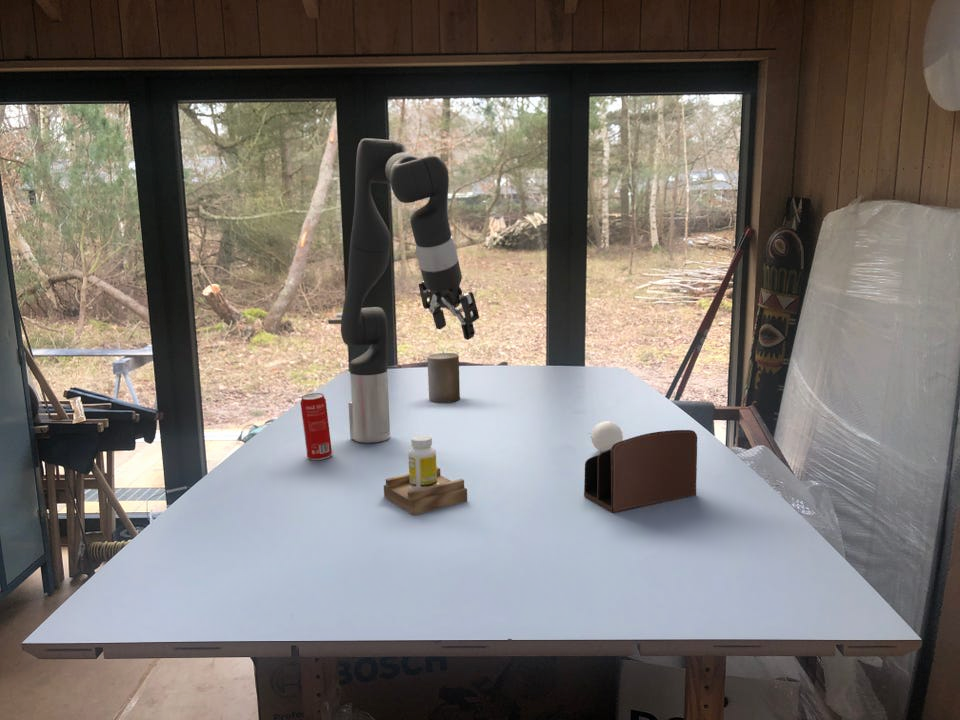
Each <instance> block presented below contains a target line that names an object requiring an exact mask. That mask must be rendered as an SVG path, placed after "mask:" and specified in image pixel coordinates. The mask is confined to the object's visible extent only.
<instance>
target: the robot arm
mask: <svg viewBox="0 0 960 720" xmlns="http://www.w3.org/2000/svg"><path fill="white" fill-rule="evenodd" d="M356 151H357V152H356V160H355V183H354V185H355V190H354V191H355V192H354V207H353V208H354V210H353V218H352V225H351V235H350V245H349V256H348V269H347V270H348V271H347V272H348V274H347V284H346V291H345V295H344V302H343V307H342V312H341V319H340V335H341V339H342V341H343V343H344V344H345V345H346V346H349V347H358V346H359V347H360V346H368V349H366V351H365V352H364V353H363V354H361V355H359V356H358V357H356V358H354V359H352V360H351V361H350V362H349V377H350V379H349V380H350V393H351V401H349V402H348V419H349V435H350V436H349V439H350V440H354V441H355V442H357V443H368V444H369V443H379V442H384V441H386V440H387V441H388V440H389V439H390V438H391V428H390V427H391V424H390V421H391V420H390V405H389V403H390V402H389V399H390V398H389V383H388V382H389V381H388V359H389V357H388V356H389V355H388V339H389V338H388V331H389V330H388V318H387V314H386V313H385V310H384V309H383V308H382V307H379V306H373V307H371V306H370V307H369V306H368V307H363V305H364V302H365V300H366V297H367V295H368V294H369V292H370V291H371V290H372V288H374V286H375V285H376V284H377V283H378V281H379V280H380V279H381V278H382V276H383V274H384V273H385V271H387V270H386V269H387V268H388V266H389V262H390V254H391V246H392V245H391V244H392V237H391V233H390V230H389V228H388V226H387V224H386V223H385V221H384V219H383V217H382V216H381V214H380V212H379V210H378V208H377V206H376V203H375V201H374V199H373V196H372V190H371V189H372V187H371V185H372V183H373V184H374V183H377V184H389V185H390V186H391V191H392V192H393V195H394V196H395V197H396V199H397V200H398V201H399V202H401V203H404V204H410V203H415V202H418V201H421V200H424V199H428V198H429V199H428V201H427V203H426V204H425V205H422V206H421V207H420V208H419V209H417V210H415V211H414V212H413V213H411V216H410V218H409V220H410V228H411V231H412V235H413V238H414V242H415V249H416V250H415V251H416V256H417V261H418V264H419V268H420V273H421V277H422V282H420V283H418V289H419V292H420V293H419V294H420V299H421V303H422V307H423V308H424V309H425V310H427V309H428V310H429V312H430V314H432V317H433V321H434V322H433V323H434V325H435V328H436V329H437V330H441V329H443V328H445V327H446V325H447V322H446V318H445V315H444V310H443V309H446V310H448V311H450V312H451V314H452V316H454V317H456V318H457V319H458V321H459V323H461V324H460V325H461V329H462V335H463V337H464V339H465V340H467V341H469V340H471V339H472V338H473V337H475V333H476V332H475V329H474V324H473V323H474V322H476V321H477V320H479V319H480V315H479V310H478V307H477V303H476V299H475V296H474V293H473V292H472V291H469V292H466V293H465V292H463V290H462V288H461V282H462V280H463V275H462V270H461V266H460V262H459V257H458V256H459V255H458V253H457V248H456V247H457V246H456V244H455V242H454V239H453V236H452V229H451V226H450V222H449V217H448V195H449V183H450V182H449V181H450V179H449V170H448V168H447V165H446V163H445V162H444V160H443V159H442V158H441V157H439V156H437V155H433V154H432V155H427V156H424V157H421V158H419V157H417V156H415V155H413V154H412V152H411V151H410V149H409V148H408V146H407V145H406V144H404V143H402V142H401V141H398V140H390V139H381V138H367V137H366V138H362V139H360V142H359V143H358V147H357V150H356ZM428 299H429V300H428ZM459 306H461V307H460V308H459V309H457V308H458V307H459ZM442 308H443V309H442ZM462 313H464V314H462ZM463 315H464V316H463Z"/></svg>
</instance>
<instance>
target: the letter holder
mask: <svg viewBox="0 0 960 720" xmlns="http://www.w3.org/2000/svg"><path fill="white" fill-rule="evenodd" d="M697 464H698V435H697V433H696V432H695V431H694V430H693V429H692V430H691V429H675V430H674V429H673V430H664V431H663V430H662V431H656V432H654V431H653V432H649V433H644V434H641V435H637V436H633V437H630V438H626V439H624V440H622V441H620V442H618V443H616V444H614V445H613V446H612V448H611V449H609V450H606V451H604V452H600V453H599V454H597V455H594V456H592V457H591V456H590V457H589V458H587V459H586V461H585V462H584V482H583V483H584V485H583V487H584V488H583V489H584V490H583V497H585V498H586V499H588V500H589V501H591V502H593V503H594V504H596V505H598V506H600V507H601V508H603V509H604V510H607V511H609V512H610V513H612V514H615V513H621V512H624V511H628V510H633V509H637V508H643V507H647V506H652V505H656V504H662V503H666V502H671V501H676V500H680V499H685V498H690V497H695V496H697V474H698V473H697V472H698V471H697V470H698V468H697V467H698V465H697Z"/></svg>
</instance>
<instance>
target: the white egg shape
mask: <svg viewBox="0 0 960 720" xmlns="http://www.w3.org/2000/svg"><path fill="white" fill-rule="evenodd" d="M591 431H592V432H588V434H591V435H590V439H591V443H592V445H593V446H594V448H595V449H596V450H597V451H599V452H600V453H602V452H604V451H606V450H609V449H611V448H612V446H613V445H614V444H616V443H618V442H620V441H623V439H624V434H623V431H622V428H621V427H620V426H619V425H617V424H616V423H614V422H612V421H608V420H607V421H602V422H601V421H600V422H599V423H597V424H596V425H595V426H594V427H593V429H592V430H591Z"/></svg>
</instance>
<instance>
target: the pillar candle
mask: <svg viewBox="0 0 960 720" xmlns="http://www.w3.org/2000/svg"><path fill="white" fill-rule="evenodd" d="M426 358H427V377H428V378H427V379H428V381H427V383H428V400H429V401H430V402H433V403H439V404H441V403H443V404H444V403H454V402H458V401H460V400H461V396H460V395H461V394H460V393H461V391H460V390H461V389H460V360H459V358H460V356H459V354H457V353H454V352H445V351H442V352H437V353H433V354H428V355H427V356H426Z"/></svg>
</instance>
